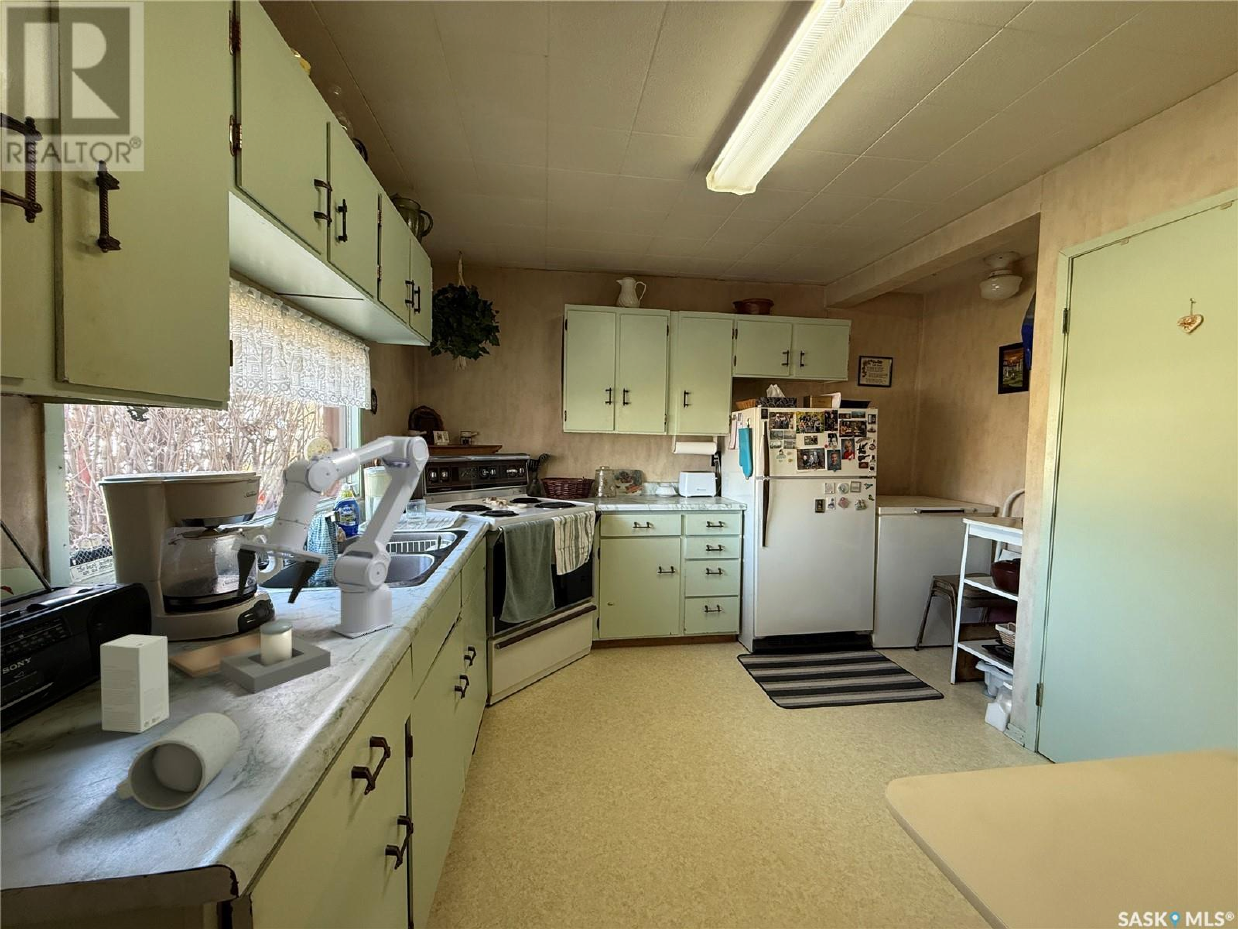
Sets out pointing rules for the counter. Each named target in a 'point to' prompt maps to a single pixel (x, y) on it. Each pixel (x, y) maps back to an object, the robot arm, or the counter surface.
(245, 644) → the board
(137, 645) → the skincare box
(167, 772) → the ceramic mug
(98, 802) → the counter surface
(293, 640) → the housing
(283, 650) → the cartridge
